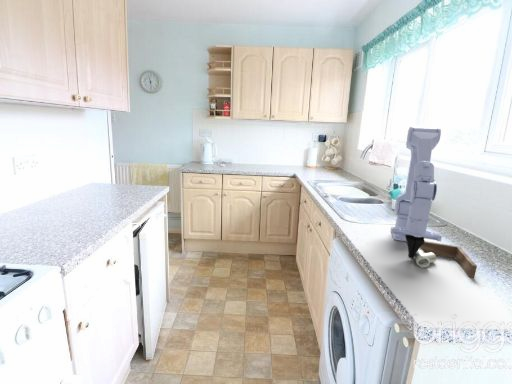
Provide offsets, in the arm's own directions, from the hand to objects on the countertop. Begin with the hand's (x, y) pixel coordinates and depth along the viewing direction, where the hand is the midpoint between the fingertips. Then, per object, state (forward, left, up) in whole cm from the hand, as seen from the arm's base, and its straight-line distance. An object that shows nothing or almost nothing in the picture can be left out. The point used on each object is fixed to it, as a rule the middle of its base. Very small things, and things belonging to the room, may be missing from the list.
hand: (410, 257), depth 95 cm
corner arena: (-3, +10, -1) cm, 11 cm away
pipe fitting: (0, +4, -2) cm, 5 cm away
